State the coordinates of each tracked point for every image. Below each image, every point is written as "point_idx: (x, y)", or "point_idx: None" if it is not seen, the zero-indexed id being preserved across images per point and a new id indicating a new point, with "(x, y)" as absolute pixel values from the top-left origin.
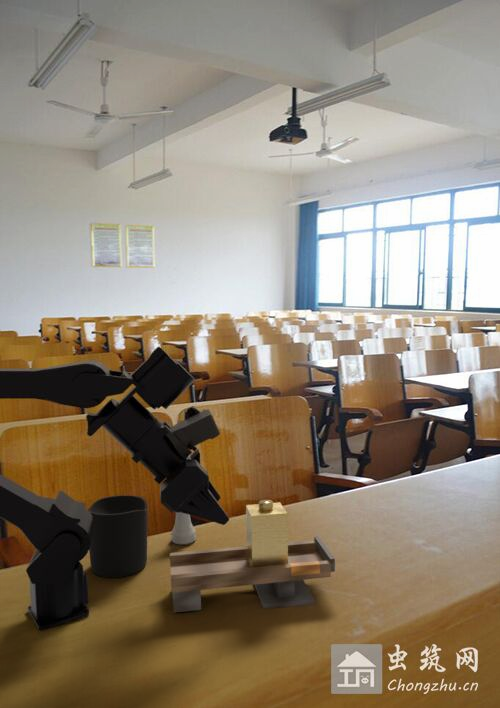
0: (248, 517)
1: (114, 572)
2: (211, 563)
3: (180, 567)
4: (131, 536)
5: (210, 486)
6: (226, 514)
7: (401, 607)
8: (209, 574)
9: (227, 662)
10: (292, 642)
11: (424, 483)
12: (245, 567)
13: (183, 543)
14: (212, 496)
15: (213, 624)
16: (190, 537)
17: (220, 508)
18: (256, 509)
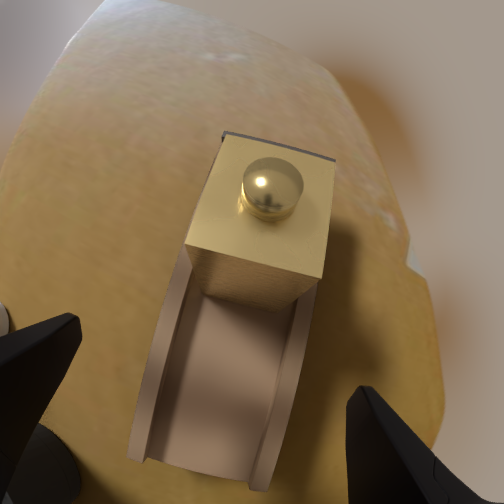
0: (247, 270)
1: (77, 491)
2: (184, 379)
3: (174, 446)
4: (42, 487)
5: (34, 355)
6: (373, 398)
7: (353, 149)
8: (286, 419)
9: (399, 404)
10: (392, 309)
11: (101, 21)
12: (241, 315)
13: (7, 333)
14: (458, 479)
15: (308, 407)
16: (1, 316)
17: (410, 432)
18: (258, 228)
